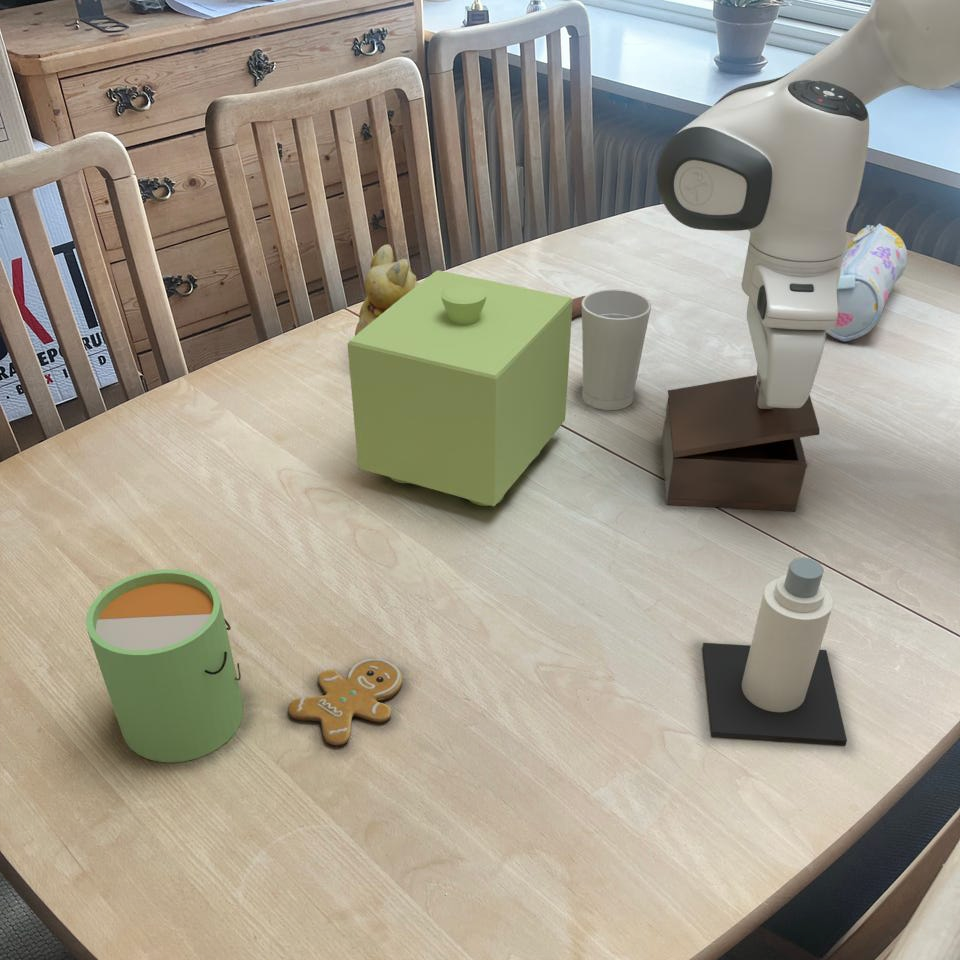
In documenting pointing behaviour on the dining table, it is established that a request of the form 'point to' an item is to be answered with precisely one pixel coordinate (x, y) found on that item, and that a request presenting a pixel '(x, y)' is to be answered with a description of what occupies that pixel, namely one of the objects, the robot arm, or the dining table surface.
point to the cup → (612, 346)
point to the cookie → (350, 698)
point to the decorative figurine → (384, 285)
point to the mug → (167, 664)
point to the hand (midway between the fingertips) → (763, 402)
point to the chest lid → (732, 418)
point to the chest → (735, 475)
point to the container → (460, 384)
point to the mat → (748, 721)
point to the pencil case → (867, 280)
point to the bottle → (787, 637)
